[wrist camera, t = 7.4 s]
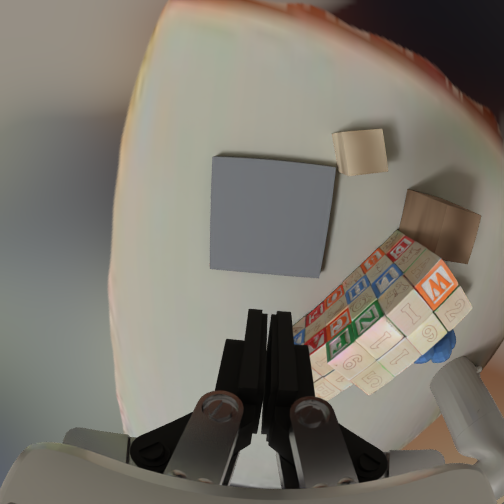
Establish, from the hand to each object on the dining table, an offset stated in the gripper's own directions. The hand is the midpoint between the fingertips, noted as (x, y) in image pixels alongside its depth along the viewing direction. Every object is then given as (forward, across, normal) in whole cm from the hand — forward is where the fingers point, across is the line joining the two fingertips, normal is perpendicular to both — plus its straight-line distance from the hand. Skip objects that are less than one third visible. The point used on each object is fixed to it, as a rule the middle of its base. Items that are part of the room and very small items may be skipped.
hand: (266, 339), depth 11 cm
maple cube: (+19, -8, -8) cm, 22 cm away
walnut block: (+19, -18, -2) cm, 26 cm away
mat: (+19, 0, 0) cm, 19 cm away
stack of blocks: (+18, -11, +10) cm, 24 cm away
